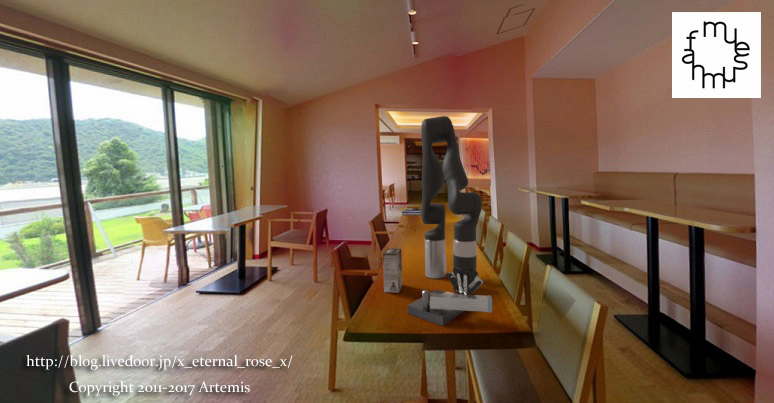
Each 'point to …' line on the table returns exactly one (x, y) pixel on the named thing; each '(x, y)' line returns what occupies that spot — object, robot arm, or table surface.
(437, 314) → the plate
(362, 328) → the table surface
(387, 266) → the coffee box
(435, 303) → the swing bar
